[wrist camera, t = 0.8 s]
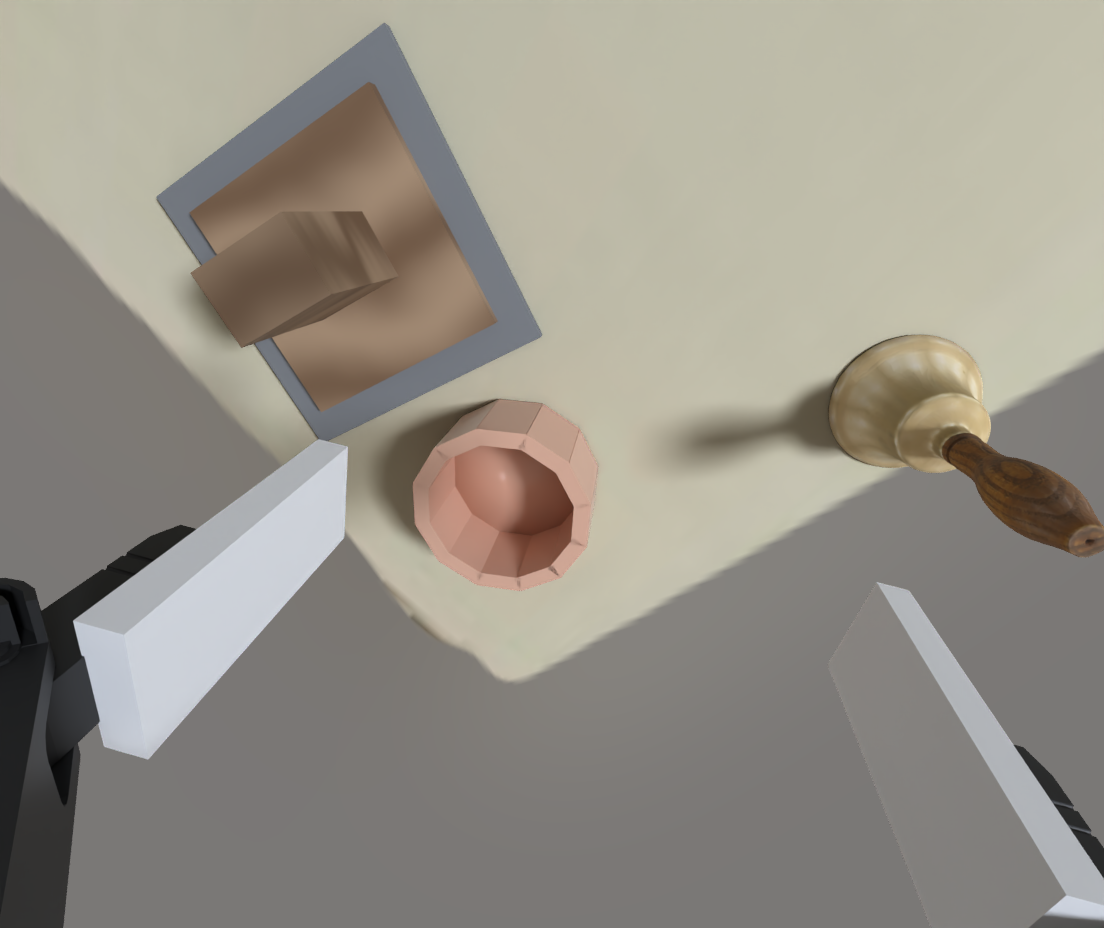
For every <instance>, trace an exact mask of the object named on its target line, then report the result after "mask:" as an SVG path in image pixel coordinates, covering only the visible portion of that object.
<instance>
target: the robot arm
mask: <svg viewBox="0 0 1104 928" xmlns="http://www.w3.org/2000/svg"><path fill="white" fill-rule="evenodd" d="M347 458H348V447H347V446H343V445H340V444H336V443H332V442H328V441H324V440H320V439H318V440H317V441H315V442H314V443H313V444H311V445H310V446H308V447H307V448H306V449H304V450H303V451H302V452H300V453H299V454H298V455H296V456H295V457H294V458H292V459H291V460H290V461H288V462H287V463H285V464H284V465H283V466H281V467H280V468H279V469H277V470H276V471H275V472H273V473H272V474H271V475H269V476H268V477H267V478H265V479H264V480H263V481H261V482H260V483H259V484H257V485H256V486H254V487H253V488H252V489H250V490H249V491H248V492H246V493H245V494H244V495H242V496H241V497H240V498H238V499H237V500H236V501H234V502H233V503H232V504H230V505H229V506H227V507H226V508H225V509H223V510H222V511H221V512H219V513H218V514H217V515H215V516H214V517H213V518H211V519H210V520H209V521H207V522H206V523H204V524H203V525H202V526H200V527H199V528H198V529H194V528H191V527H187V526H183V525H179V526H177V527H174V528H171V529H169V530H166V531H163V532H160V533H158V534H155V535H153V536H150V537H149V538H147V539H146V540H144V541H143V542H141V543H140V544H139V545H137V546H136V547H134V548H133V549H131V550H130V551H128V552H127V554H126V556H121V557H120V558H118V559H117V560H115V561H114V562H112V563H111V564H109V565H108V566H107V569H106V570H101V571H99V572H98V573H96V574H95V575H93V576H92V577H90V578H89V579H87V580H86V581H85V582H83V583H82V584H80V585H79V586H77V587H76V588H74V589H73V590H71V591H70V592H68V593H67V594H65V595H64V596H63V597H61V598H60V599H58V600H57V601H55V602H54V603H53V604H51V605H49V606H48V607H47V608H45V609H44V610H42V611H41V609H40V606H39V602H38V599H37V595H36V591H35V589H34V588H33V587H31V586H30V585H29V584H27V583H25V582H24V581H19V580H14V579H8V578H0V928H63V924H64V914H65V904H66V895H67V894H66V893H67V884H68V875H69V865H70V855H71V845H72V835H73V825H74V815H75V804H76V795H77V785H78V774H79V765H80V751H79V746H78V742H79V741H80V740H81V739H82V738H83V737H84V736H85V735H86V734H87V733H88V732H89V731H90V730H92V729H93V728H94V727H95V726H96V724H99V728H100V732H101V736H102V740H103V744H104V747H107V748H110V749H114V750H117V751H121V752H124V753H128V754H131V755H135V756H138V757H142V758H146V759H149V758H150V757H151V755H152V754H153V753H154V752H155V751H156V750H157V749H158V748H159V746H160V745H161V744H162V743H163V742H164V741H165V740H166V738H167V737H168V736H169V735H170V734H171V733H172V732H173V731H174V729H175V728H176V727H177V726H178V725H179V724H180V723H181V722H182V720H183V719H184V718H185V717H186V716H187V715H188V714H189V713H190V711H191V710H192V709H193V708H194V707H195V706H196V705H197V703H198V702H199V701H200V700H201V699H202V698H203V697H204V696H205V694H206V693H207V692H208V691H209V690H210V689H211V688H212V686H213V685H214V684H215V683H216V682H217V681H218V680H219V678H220V677H221V676H222V675H223V674H224V673H225V672H226V671H227V669H228V668H229V667H230V666H231V665H232V664H233V662H234V661H235V660H236V659H237V658H238V657H239V656H240V655H241V654H242V652H243V651H244V650H245V649H246V648H247V647H248V645H250V643H251V642H252V641H253V640H254V639H255V638H256V637H257V636H258V634H259V633H260V632H261V631H262V630H263V629H264V628H265V626H266V625H267V624H268V623H269V622H270V621H271V620H272V619H273V617H274V616H275V615H276V614H277V613H278V612H279V610H281V608H282V607H283V606H284V605H285V604H286V603H287V602H288V600H289V599H290V598H291V597H292V596H293V595H294V594H295V593H296V591H297V590H298V589H299V588H300V587H301V585H303V583H304V582H305V581H306V580H307V579H308V578H309V576H310V575H311V574H312V573H313V572H314V571H315V570H316V569H317V568H318V567H319V565H320V564H321V563H322V562H323V561H324V560H325V559H326V557H327V556H328V555H329V554H330V553H331V552H332V551H333V549H334V548H335V547H336V546H337V545H338V544H339V543H340V542H341V540H342V539H343V538H344V530H345V506H346V482H347ZM828 668H829V670H830V672H831V675H832V678H833V680H834V683H835V685H836V688H837V690H838V693H839V696H840V698H841V701H842V703H843V706H844V708H845V711H846V713H847V715H848V718H849V721H850V724H851V726H852V728H853V731H854V734H855V736H856V739H857V741H858V744H859V746H860V749H861V751H862V754H863V756H864V759H865V762H866V764H867V767H868V769H869V772H870V774H871V777H872V779H873V782H874V784H875V787H876V789H877V792H878V795H879V797H880V800H881V802H882V805H883V807H884V810H885V812H886V815H887V817H888V820H889V823H890V825H891V828H892V830H893V832H894V835H895V838H896V840H897V843H898V845H899V848H900V850H901V853H902V856H903V858H904V861H905V863H906V866H907V868H908V871H909V873H910V876H911V878H912V881H913V884H914V886H915V889H916V891H917V894H918V896H919V899H920V901H921V904H922V906H923V909H924V912H925V914H926V916H927V919H928V921H929V924H930V927H931V928H1104V848H1103V846H1102V845H1101V844H1100V842H1099V841H1098V839H1097V838H1096V837H1094V836H1092V835H1091V829H1090V828H1089V827H1088V825H1087V824H1086V823H1085V821H1084V820H1083V818H1082V817H1081V815H1080V814H1079V812H1078V811H1074V810H1073V806H1074V805H1073V804H1072V803H1071V801H1070V800H1069V798H1068V797H1067V796H1066V794H1065V793H1064V791H1063V790H1062V788H1061V787H1060V786H1059V784H1058V783H1057V781H1056V780H1055V779H1054V777H1053V776H1052V775H1051V774H1050V773H1049V772H1048V771H1047V770H1046V769H1045V768H1044V767H1043V766H1042V765H1041V764H1040V763H1039V762H1038V761H1037V760H1036V759H1035V758H1034V757H1033V756H1032V755H1030V753H1029V752H1028V751H1026V749H1025V748H1023V747H1020V746H1017V745H1013V744H1012V742H1011V741H1010V739H1009V738H1008V737H1007V735H1006V733H1005V732H1004V730H1003V729H1002V727H1001V726H1000V724H999V723H998V722H997V720H996V719H995V717H994V716H993V714H992V713H991V711H990V710H989V708H988V707H987V705H986V704H985V702H984V701H983V699H982V698H981V696H980V695H979V693H978V692H977V690H976V689H975V688H974V686H973V684H972V683H971V682H970V680H969V679H968V677H967V676H966V675H965V673H964V671H963V670H962V668H961V667H960V665H959V664H958V662H957V661H956V659H955V658H954V656H953V655H952V654H951V652H950V650H949V649H948V648H947V646H946V645H945V643H944V642H943V640H942V639H941V637H940V636H939V634H938V633H937V631H936V630H935V628H934V627H933V625H932V624H931V622H930V621H929V619H928V618H927V616H926V615H925V614H924V612H923V611H922V609H921V608H920V606H919V605H918V603H917V602H916V600H915V599H914V598H913V596H912V594H911V593H910V591H909V590H905V589H902V588H897V587H893V586H890V585H886V584H882V583H878V582H877V583H876V584H875V586H874V587H873V589H872V591H871V592H870V594H869V596H868V598H867V599H866V601H865V602H864V604H863V606H862V608H861V609H860V611H859V613H858V614H857V616H856V618H855V619H854V621H853V623H852V624H851V626H850V628H849V629H848V631H847V633H846V634H845V636H844V638H843V639H842V641H841V643H840V645H839V646H838V648H837V650H836V651H835V653H834V655H833V656H832V658H831V660H830V661H829V663H828Z"/></svg>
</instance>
